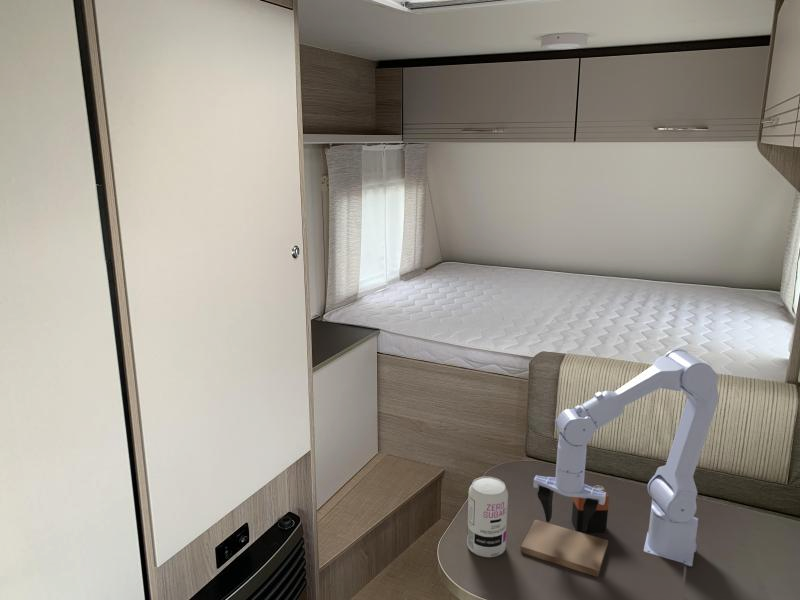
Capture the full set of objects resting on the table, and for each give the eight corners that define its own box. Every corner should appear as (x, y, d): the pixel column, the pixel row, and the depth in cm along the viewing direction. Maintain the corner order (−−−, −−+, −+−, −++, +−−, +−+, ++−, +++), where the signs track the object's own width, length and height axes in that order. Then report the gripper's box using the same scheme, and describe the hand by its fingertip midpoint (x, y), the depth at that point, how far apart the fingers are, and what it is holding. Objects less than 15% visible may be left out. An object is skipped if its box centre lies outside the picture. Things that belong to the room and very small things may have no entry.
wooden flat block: (607, 546, 128) (608, 540, 127) (598, 577, 118) (598, 570, 118) (534, 525, 135) (535, 519, 135) (520, 552, 126) (520, 546, 125)
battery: (606, 532, 132) (610, 492, 130) (576, 533, 132) (579, 493, 130) (599, 521, 137) (603, 482, 134) (570, 521, 137) (573, 482, 134)
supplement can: (482, 531, 133) (484, 471, 129) (513, 548, 127) (516, 485, 124) (459, 547, 127) (461, 484, 124) (490, 565, 122) (492, 500, 118)
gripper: (610, 466, 122) (604, 523, 126) (540, 450, 129) (537, 505, 132) (604, 482, 116) (599, 542, 119) (532, 465, 123) (528, 522, 126)
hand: (566, 524), depth 125 cm, fingers open, 7 cm apart
